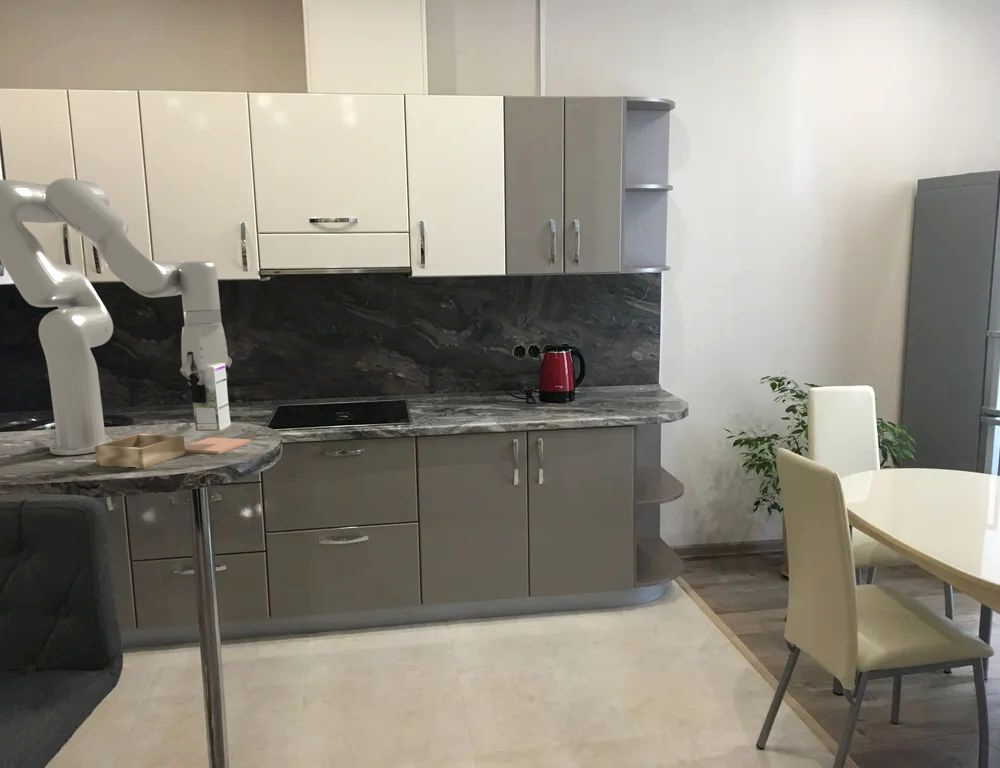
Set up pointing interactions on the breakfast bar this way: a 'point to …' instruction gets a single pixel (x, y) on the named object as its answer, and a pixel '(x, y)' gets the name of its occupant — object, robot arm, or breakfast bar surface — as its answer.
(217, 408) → the syrup box
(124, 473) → the breakfast bar surface
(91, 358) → the robot arm
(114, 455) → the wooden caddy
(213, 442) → the terracotta tile
